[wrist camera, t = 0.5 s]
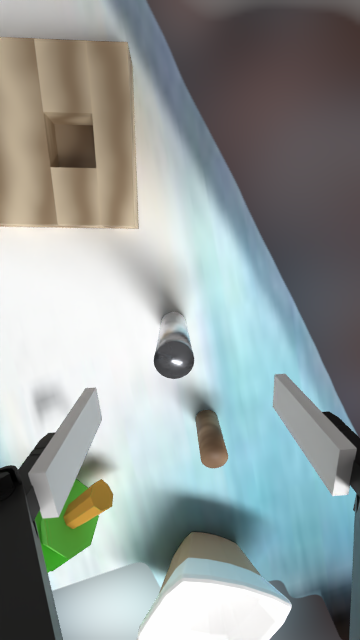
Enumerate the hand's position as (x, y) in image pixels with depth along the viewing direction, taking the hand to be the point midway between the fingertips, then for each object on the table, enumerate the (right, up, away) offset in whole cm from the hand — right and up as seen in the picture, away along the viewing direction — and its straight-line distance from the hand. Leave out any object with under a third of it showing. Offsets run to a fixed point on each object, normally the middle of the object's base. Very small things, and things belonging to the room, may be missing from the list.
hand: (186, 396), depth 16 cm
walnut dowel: (+4, -12, +24) cm, 27 cm away
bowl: (+5, -47, +34) cm, 58 cm away
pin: (-2, +5, +19) cm, 20 cm away
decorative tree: (-26, -31, +29) cm, 50 cm away
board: (-18, +27, +12) cm, 35 cm away
